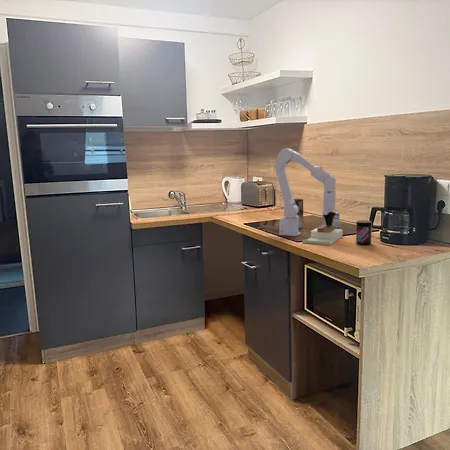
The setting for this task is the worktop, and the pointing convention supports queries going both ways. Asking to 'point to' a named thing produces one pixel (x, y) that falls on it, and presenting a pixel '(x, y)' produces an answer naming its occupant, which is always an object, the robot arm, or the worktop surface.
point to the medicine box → (335, 221)
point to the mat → (319, 241)
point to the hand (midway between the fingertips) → (329, 226)
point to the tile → (326, 228)
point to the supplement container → (363, 232)
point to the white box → (327, 234)
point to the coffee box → (300, 213)
